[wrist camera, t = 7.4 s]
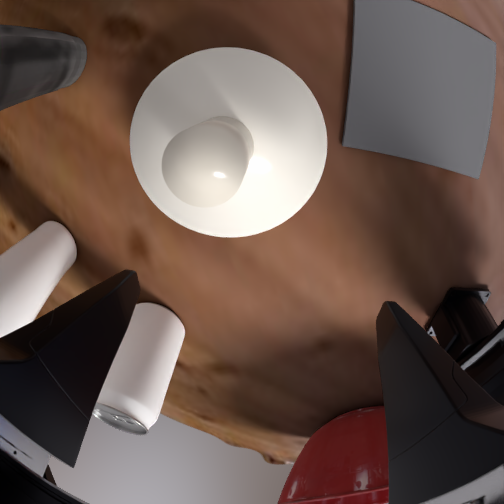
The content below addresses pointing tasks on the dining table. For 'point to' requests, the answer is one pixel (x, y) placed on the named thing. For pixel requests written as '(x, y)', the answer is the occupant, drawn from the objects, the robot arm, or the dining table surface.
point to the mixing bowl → (343, 462)
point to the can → (141, 370)
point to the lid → (228, 142)
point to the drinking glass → (33, 273)
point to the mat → (419, 86)
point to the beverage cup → (37, 62)
